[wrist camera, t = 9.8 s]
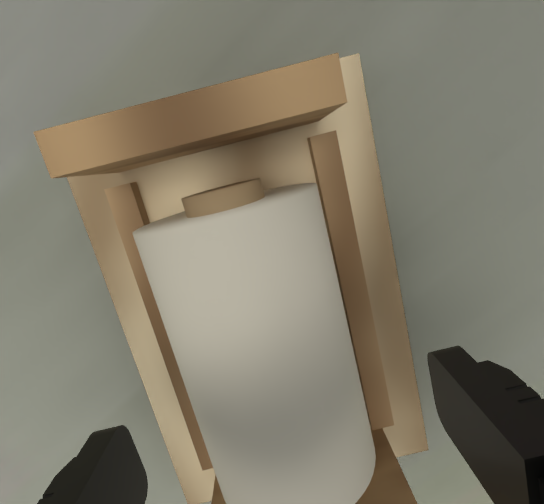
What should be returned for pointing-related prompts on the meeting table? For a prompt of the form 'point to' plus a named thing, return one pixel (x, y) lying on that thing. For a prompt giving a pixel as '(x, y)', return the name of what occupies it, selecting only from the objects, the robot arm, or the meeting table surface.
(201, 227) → the roll
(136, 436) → the meeting table surface
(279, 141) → the cradle
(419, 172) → the meeting table surface
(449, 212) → the meeting table surface
